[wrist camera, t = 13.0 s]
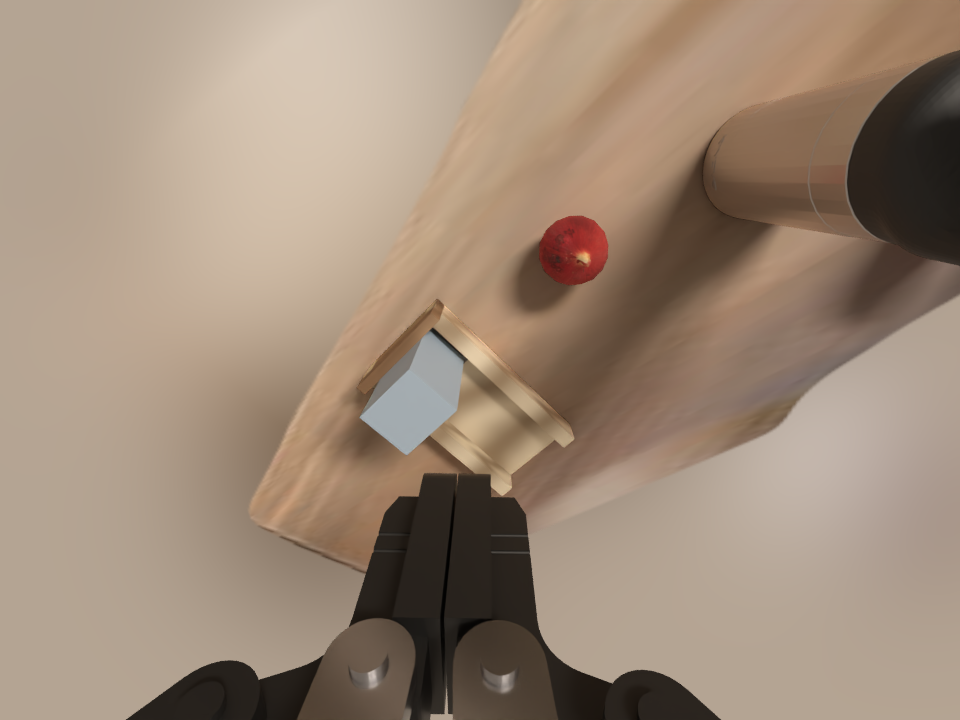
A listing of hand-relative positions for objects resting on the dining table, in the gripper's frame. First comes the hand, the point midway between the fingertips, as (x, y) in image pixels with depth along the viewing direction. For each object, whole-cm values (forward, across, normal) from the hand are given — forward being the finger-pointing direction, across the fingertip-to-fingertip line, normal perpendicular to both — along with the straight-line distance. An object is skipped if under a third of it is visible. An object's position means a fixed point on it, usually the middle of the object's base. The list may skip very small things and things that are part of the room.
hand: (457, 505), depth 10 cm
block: (+34, +6, +10) cm, 36 cm away
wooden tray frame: (+35, +1, +15) cm, 38 cm away
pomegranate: (+35, -8, -1) cm, 36 cm away
